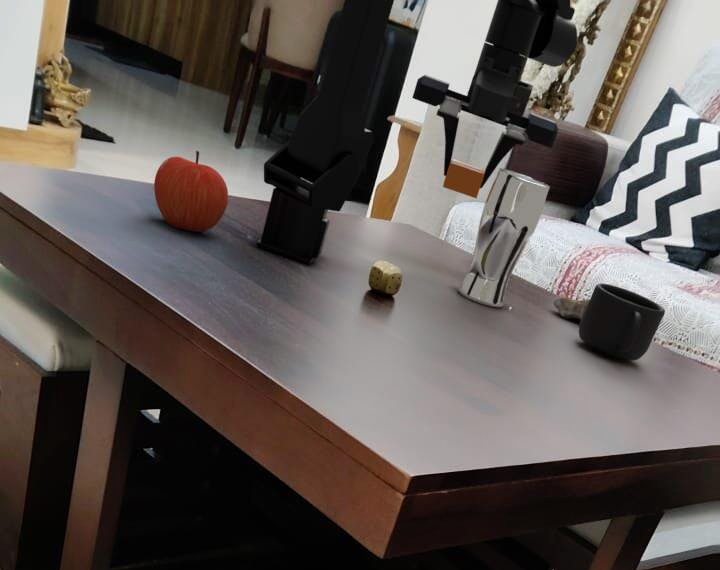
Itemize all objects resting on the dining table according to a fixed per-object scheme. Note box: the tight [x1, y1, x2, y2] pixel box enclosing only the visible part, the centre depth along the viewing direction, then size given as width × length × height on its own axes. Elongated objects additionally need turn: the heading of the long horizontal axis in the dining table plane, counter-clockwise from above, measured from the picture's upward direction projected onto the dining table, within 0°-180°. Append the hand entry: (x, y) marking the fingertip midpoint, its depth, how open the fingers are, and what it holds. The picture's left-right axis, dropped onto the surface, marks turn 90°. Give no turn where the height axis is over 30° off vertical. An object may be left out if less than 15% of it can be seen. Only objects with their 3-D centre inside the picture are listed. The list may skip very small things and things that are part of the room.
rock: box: [553, 296, 590, 321], centre depth 135 cm, size 9×6×10 cm
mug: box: [578, 283, 666, 362], centre depth 121 cm, size 12×9×7 cm
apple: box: [153, 150, 229, 233], centre depth 108 cm, size 8×8×8 cm
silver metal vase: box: [458, 167, 551, 308], centre depth 124 cm, size 7×7×15 cm
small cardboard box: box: [442, 157, 485, 199], centre depth 130 cm, size 5×7×3 cm
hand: (462, 181), depth 131 cm, fingers closed on small cardboard box, 4 cm apart
